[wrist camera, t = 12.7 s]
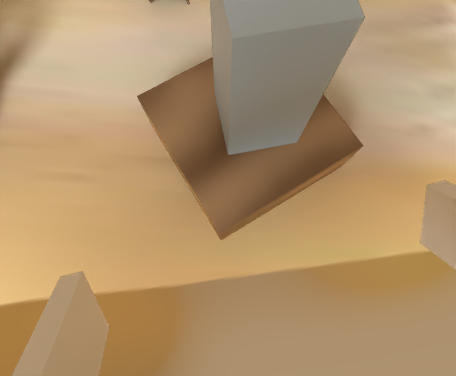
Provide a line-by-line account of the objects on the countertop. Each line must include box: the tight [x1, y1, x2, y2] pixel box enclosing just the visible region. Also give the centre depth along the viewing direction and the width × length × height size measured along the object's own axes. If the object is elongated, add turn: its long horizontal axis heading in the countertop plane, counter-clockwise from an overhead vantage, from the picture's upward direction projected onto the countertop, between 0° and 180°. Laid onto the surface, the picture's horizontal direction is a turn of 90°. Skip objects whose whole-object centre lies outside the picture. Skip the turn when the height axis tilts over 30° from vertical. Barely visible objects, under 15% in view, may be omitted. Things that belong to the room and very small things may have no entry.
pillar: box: [210, 0, 365, 155], centre depth 17 cm, size 5×5×11 cm
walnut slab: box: [137, 57, 363, 240], centre depth 25 cm, size 12×12×5 cm
